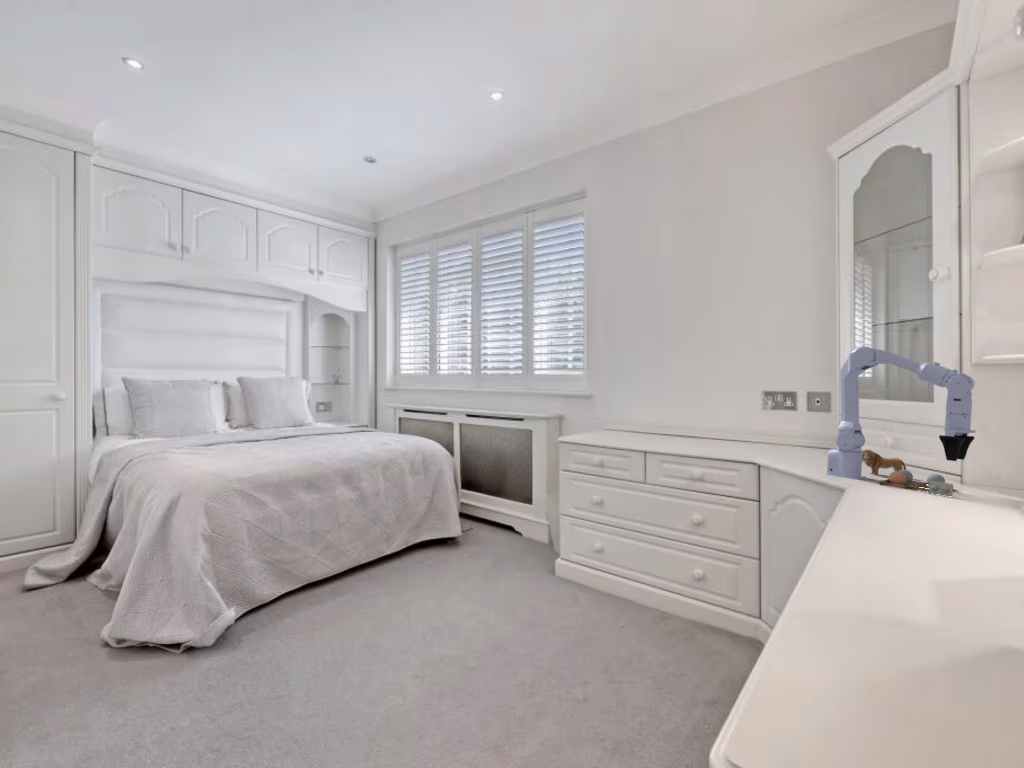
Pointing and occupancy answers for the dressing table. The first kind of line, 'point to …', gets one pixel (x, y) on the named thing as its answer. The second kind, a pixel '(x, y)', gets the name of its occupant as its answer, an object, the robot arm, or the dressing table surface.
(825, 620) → the dressing table surface
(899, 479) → the terracotta ball
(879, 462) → the lion figurine
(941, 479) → the grey ball right
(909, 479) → the grey ball left
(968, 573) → the dressing table surface
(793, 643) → the dressing table surface
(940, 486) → the card
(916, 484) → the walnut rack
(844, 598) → the dressing table surface
